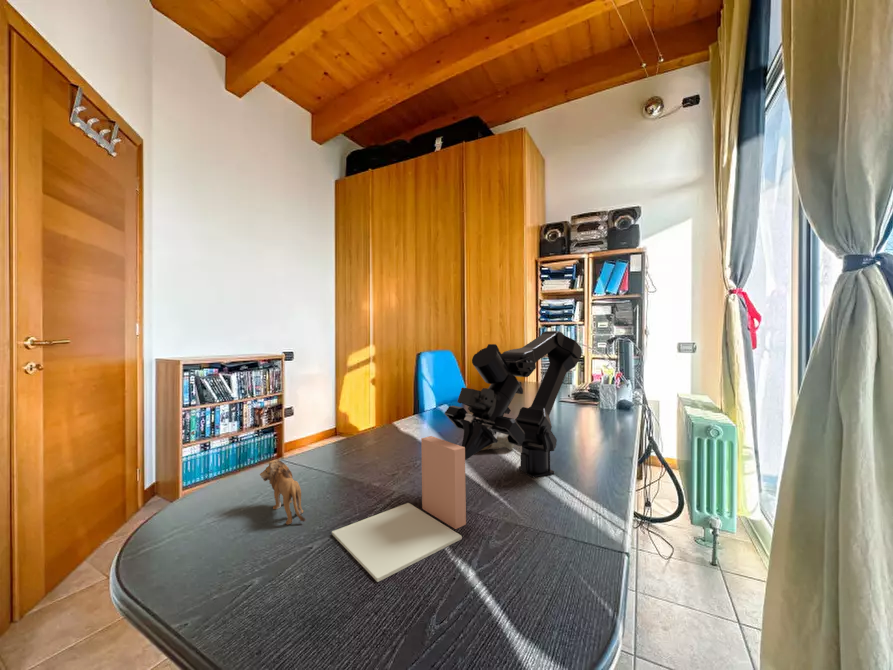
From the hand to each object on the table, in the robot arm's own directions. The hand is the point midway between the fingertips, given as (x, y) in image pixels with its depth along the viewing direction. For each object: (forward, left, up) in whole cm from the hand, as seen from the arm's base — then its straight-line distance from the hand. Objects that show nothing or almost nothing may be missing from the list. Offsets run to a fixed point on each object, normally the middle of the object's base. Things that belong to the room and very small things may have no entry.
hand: (461, 459), depth 71 cm
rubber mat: (+15, +5, -10) cm, 18 cm away
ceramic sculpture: (-23, -31, -10) cm, 40 cm away
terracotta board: (+5, +2, -10) cm, 11 cm away
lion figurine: (+33, -12, -10) cm, 37 cm away
